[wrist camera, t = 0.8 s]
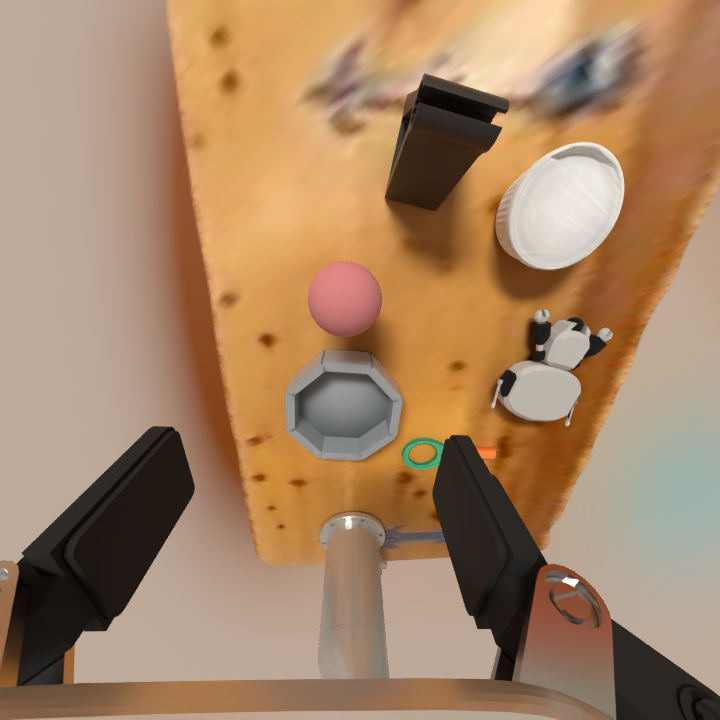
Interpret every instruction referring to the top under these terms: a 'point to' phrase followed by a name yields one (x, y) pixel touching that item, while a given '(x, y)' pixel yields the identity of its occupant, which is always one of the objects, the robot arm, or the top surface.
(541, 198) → the ramekin
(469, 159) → the phone stand
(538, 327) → the robot toy
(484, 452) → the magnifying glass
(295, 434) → the ceramic bowl
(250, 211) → the top surface
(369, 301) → the light bulb
